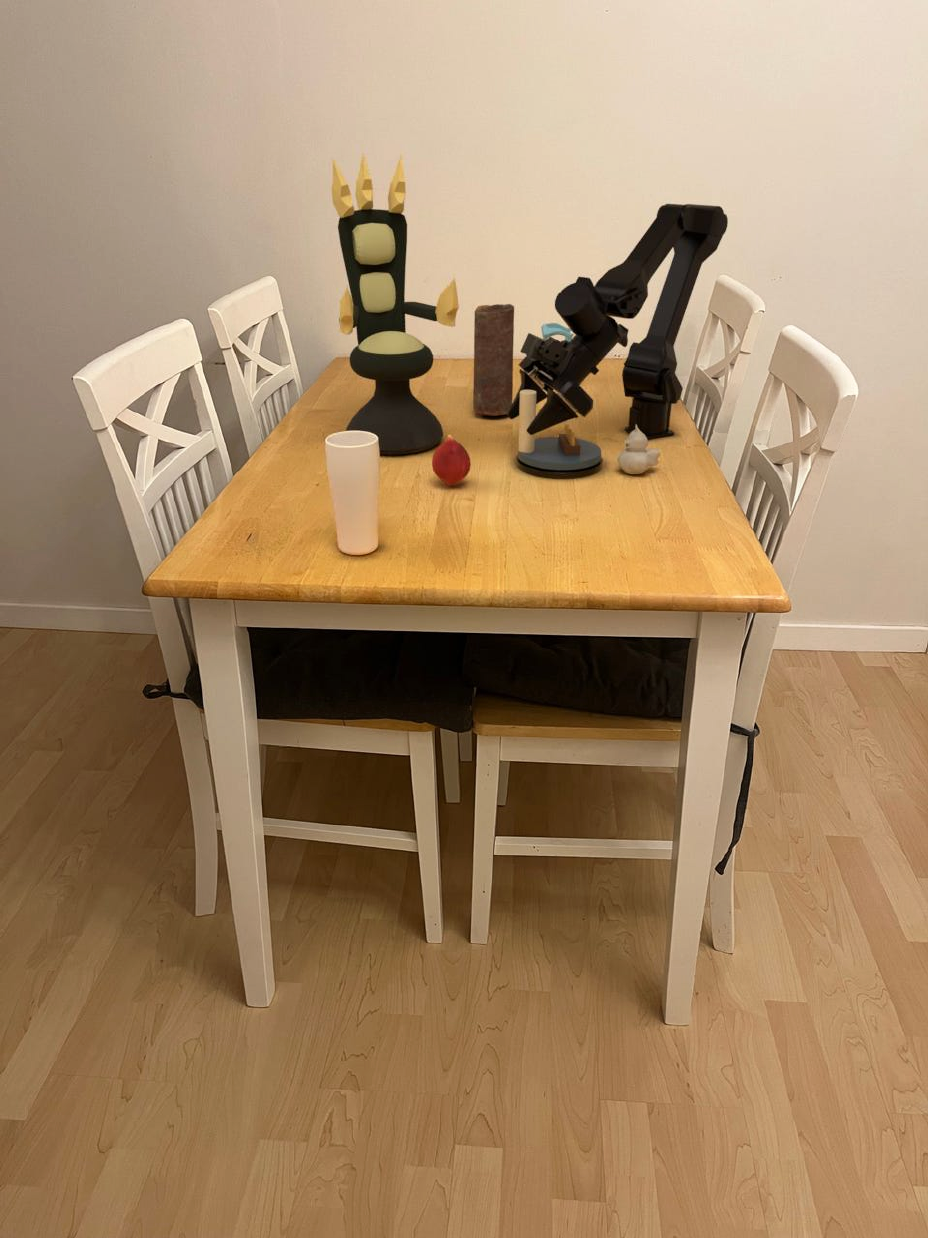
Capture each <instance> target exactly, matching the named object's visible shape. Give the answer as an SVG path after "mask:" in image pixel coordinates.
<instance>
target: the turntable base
mask: <svg viewBox="0 0 928 1238" xmlns="http://www.w3.org/2000/svg"><path fill="white" fill-rule="evenodd" d="M603 461H604V460H603V457H602V456H601V460H600V461H599V462H598V463H597V464H595V465H593V466H591V467H587V468H583V469H577V470H549V469H542V468H537V467H533V466H530V465H527V464H525V463H523V462H522V461H521V460H520V459H519V458H518V454H516V456H515V466H516V467H517V468H518V469H519V470H520V471H521V472H524V473H526V474H528V475H531V476H535V477H539V478H543V479H544V478H545V479H554V480H557V479H558V480H560V479H561V480H568V479H578V478H584V477H588V476H592V475H594V474H597V473H598V472H600V471H601V470H602V468H603V463H604V462H603Z"/></svg>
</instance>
